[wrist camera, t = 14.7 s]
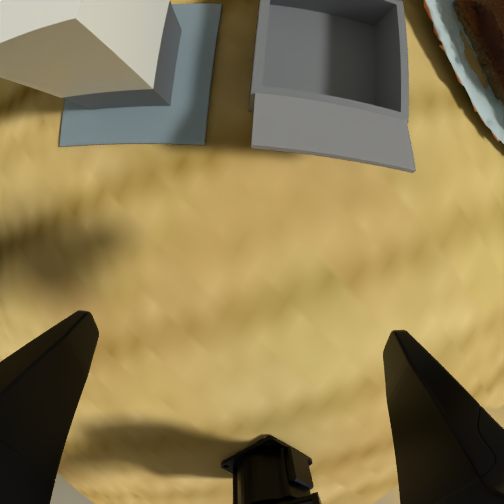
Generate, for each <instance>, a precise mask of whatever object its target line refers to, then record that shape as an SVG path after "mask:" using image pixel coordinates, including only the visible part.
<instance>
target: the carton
mask: <svg viewBox="0 0 504 504" xmlns="http://www.w3.org/2000/svg"><path fill="white" fill-rule="evenodd" d="M248 111H254V114H253V127H252V141H251V148H254V149H265V150H274V151H284V152H292V153H301V154H308V155H316V156H323V157H330V158H336V159H342V160H349V161H355V162H360V163H366V164H371V165H377V166H382V167H387V168H392V169H397V170H401V171H406V172H411V173H413V172H415V171H416V169H415V163H414V157H413V151H412V146H411V140H410V135H409V130H408V126H407V123H408V116H409V72H408V49H407V35H406V24H405V14H404V5H403V1H400V0H260V1H259V9H258V19H257V28H256V37H255V47H254V57H253V67H252V77H251V87H250V97H249V108H248Z"/></svg>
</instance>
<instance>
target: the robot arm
mask: <svg viewBox="0 0 504 504" xmlns="http://www.w3.org/2000/svg"><path fill="white" fill-rule="evenodd" d="M98 337H99V331H98V328H97V326H96V323H95V321H94V318H93V316H92V314H91V313H90V312H88V311H82V310H79V311H77V312H75V313H74V314H72V315H70V316H69V317H67V318H66V319H64V320H63V321H61V322H60V323H58V324H57V325H55V326H53V327H52V328H50V329H49V330H47V331H46V332H44V333H43V334H41V335H40V336H38V337H37V338H35V339H34V340H32V341H31V342H29V343H28V344H26V345H25V346H23V347H22V348H20V349H19V350H17V351H16V352H14V353H13V354H11V355H10V356H8V357H7V358H6V359H4V360H3V361H1V362H0V504H50V500H51V496H52V491H53V487H54V483H55V479H56V475H57V471H58V467H59V463H60V460H61V456H62V453H63V449H64V446H65V442H66V439H67V436H68V433H69V429H70V426H71V423H72V420H73V417H74V414H75V411H76V408H77V405H78V402H79V399H80V396H81V394H82V391H83V388H84V385H85V383H86V380H87V377H88V373H89V370H90V366H91V362H92V359H93V355H94V351H95V348H96V344H97V341H98ZM383 361H384V371H385V383H386V397H387V405H388V411H389V417H390V423H391V429H392V436H393V442H394V449H395V457H396V465H397V473H398V482H399V491H400V503H401V504H504V429H503V428H502V427H501V426H500V425H499V424H498V423H497V422H496V421H495V420H494V419H493V418H492V417H491V416H490V415H489V414H488V413H487V412H486V411H485V409H484V408H483V407H482V406H480V404H479V403H478V402H477V401H476V400H475V399H474V398H473V397H472V396H471V395H470V394H469V393H468V392H467V391H466V390H465V389H464V388H463V387H462V386H461V384H460V383H459V382H458V381H457V380H456V379H455V378H454V377H453V376H452V375H451V374H450V373H449V372H448V371H447V370H446V369H445V368H444V367H443V366H442V365H441V364H440V363H439V362H438V361H437V360H436V359H435V358H434V357H433V356H432V355H431V354H430V353H429V352H428V351H427V350H426V349H425V348H424V347H423V346H422V345H420V344H419V343H418V342H417V341H416V340H415V339H414V338H413V337H412V336H411V335H410V334H409V333H408V332H407V331H405V330H394V331H392V332H391V333H390V336H389V338H388V341H387V343H386V345H385V348H384V351H383ZM311 464H312V459H311V458H309V457H308V456H306V455H305V454H303V453H302V452H300V451H298V450H296V449H295V448H293V447H291V446H288V445H287V444H285V443H283V442H282V441H280V440H278V439H277V438H275V437H273V436H268V437H266V438H264V439H263V440H261V441H259V442H257V443H256V444H254V445H252V446H250V447H249V448H247V449H245V450H243V451H241V452H239V453H238V454H236V455H234V456H232V457H230V458H228V459H226V460H224V461H222V462H221V467H222V468H223V469H225V470H227V471H229V472H231V473H233V504H322V503H321V501H320V498H319V495H318V492H316V493H312V494H311V493H310V489H312V488H313V482H312V477H311V473H310V469H309V466H310V465H311Z"/></svg>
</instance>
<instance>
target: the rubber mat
mask: <svg viewBox="0 0 504 504" xmlns="http://www.w3.org/2000/svg"><path fill="white" fill-rule="evenodd" d="M171 5H172V7H173V10H174V12H175V14H176V17H177V19H178V22H179V24H180V27H181V29H182V32H181V37H180V43H179V49H178V55H177V62H176V68H175V75H174V83H173V90H172V98H171V106H140V107H120V108H105V109H94V110H91V109H89V108H86V107H83V106H81V105H78V104H76V103H73V102H70V101H67V100H65V103H64V110H63V118H62V126H61V135H60V146H59V147H67V146H82V145H104V144H188V145H205V137H206V126H207V116H208V107H209V98H210V89H211V80H212V72H213V64H214V57H215V49H216V42H217V35H218V28H219V22H220V15H221V9H222V4H215V3H196V4H171Z"/></svg>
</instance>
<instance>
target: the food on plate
mask: <svg viewBox="0 0 504 504" xmlns="http://www.w3.org/2000/svg"><path fill="white" fill-rule="evenodd" d="M423 1H424V8H425V10H426V11H427V14H428V16H429V18H430V19H431V20H432V21H433V22H434V26H433V27H434V33H435V34H436V36H437V37H438V39H439V40H440V41H441V42H442V45H439V46H440V47H441V48H442V49H443V50H444V51H445V53H446V55H447V57H448V59H449V61H450V62H451V64H452V67H453V69H454V71H455V73H456V77H457V79H458V81H459V83H460V84H462V85H463V86H464V87H465V89H466V91H467V93H468V95H469V97H470V99H471V101H472V104H473V107H474V111H475V112H477V111H478V113H479V116H480V118H481V119H482V121H483V122H484V123H485V125H486V126H487V127H488V128H489V129H491V131H492V133H493V136H494V137H495V139H496V140H497V141H498V142H499V140H500V141H501V142H502V143H503V144H504V0H423ZM461 30H462V33H463V35H464V36H465V39H466V41H467V43H468V44H469V46H470V48H471V49H472V51H473V52H474V55H475V56H476V58H477V60H478V62H479V64H480V66H481V68H482V72H483V75H484V77H485V80H486V83H487V89H485V88H484V87H483V86H482V83H481V82H480V80H479V78H478V76H477V75H476V72H475V71H473V70H472V69H471V67H470V65H469V63H468V61H467V59H466V57H465V55H464V50H465V45H464V43H463V40H462V38H461V37H460V31H461Z"/></svg>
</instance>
